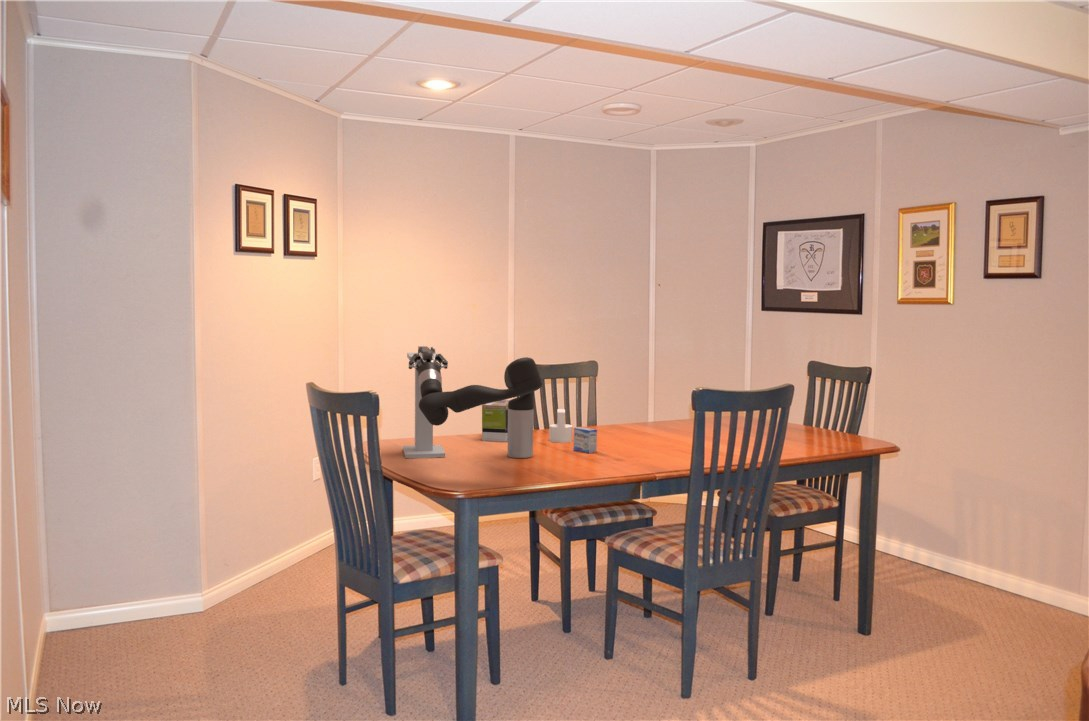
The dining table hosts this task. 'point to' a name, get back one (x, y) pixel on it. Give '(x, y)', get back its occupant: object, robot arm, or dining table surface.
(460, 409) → the robot arm
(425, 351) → the dark cylinder
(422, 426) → the pedestal
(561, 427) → the cylinder with rectangular tab
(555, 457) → the dining table surface
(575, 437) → the medicine box
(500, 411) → the tea box
